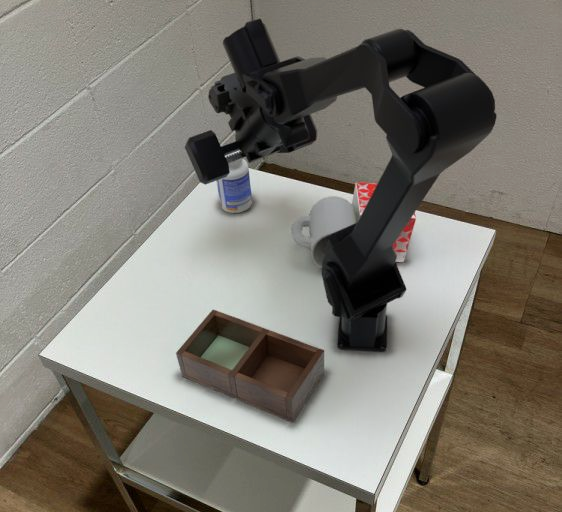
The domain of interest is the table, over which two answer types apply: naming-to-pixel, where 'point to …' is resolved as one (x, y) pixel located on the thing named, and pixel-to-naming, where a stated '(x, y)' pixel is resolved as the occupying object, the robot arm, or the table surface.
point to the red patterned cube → (359, 203)
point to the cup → (323, 225)
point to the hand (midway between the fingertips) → (237, 159)
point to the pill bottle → (235, 187)
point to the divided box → (252, 364)
